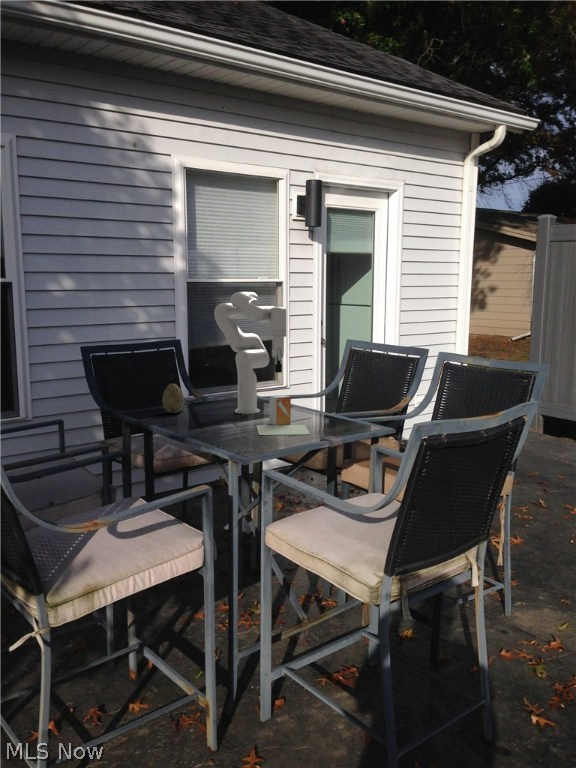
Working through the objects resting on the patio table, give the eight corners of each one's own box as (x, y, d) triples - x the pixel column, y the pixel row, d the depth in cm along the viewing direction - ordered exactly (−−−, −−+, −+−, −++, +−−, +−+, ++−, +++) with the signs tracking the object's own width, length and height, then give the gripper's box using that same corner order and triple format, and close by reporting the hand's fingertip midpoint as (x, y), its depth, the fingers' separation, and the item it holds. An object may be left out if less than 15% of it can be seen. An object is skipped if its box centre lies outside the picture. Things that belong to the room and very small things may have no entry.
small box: (276, 426, 309) (276, 397, 307) (268, 423, 314) (268, 396, 312) (291, 424, 313) (291, 396, 312) (283, 422, 319) (283, 394, 317)
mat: (256, 426, 308) (256, 425, 308) (304, 425, 310) (304, 424, 310) (258, 435, 288) (258, 434, 288) (310, 434, 290) (310, 433, 290)
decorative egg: (162, 411, 344) (161, 382, 342) (183, 411, 346) (183, 382, 344) (162, 415, 333) (162, 385, 331) (184, 414, 335) (184, 384, 333)
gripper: (269, 332, 325) (269, 370, 327) (271, 334, 310) (271, 374, 313) (285, 332, 326) (284, 370, 328) (287, 334, 311) (287, 374, 313)
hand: (278, 372), depth 320 cm, fingers closed
